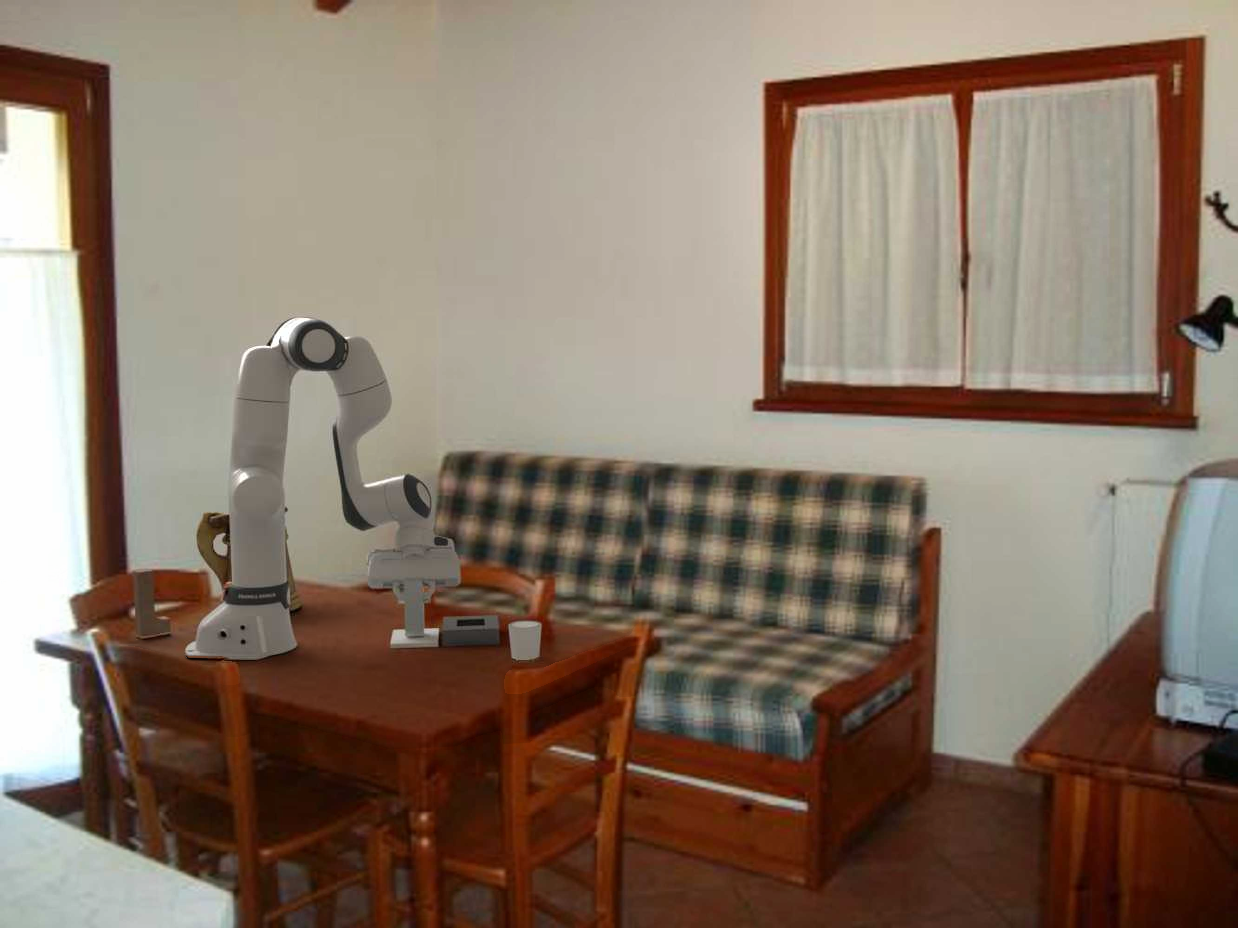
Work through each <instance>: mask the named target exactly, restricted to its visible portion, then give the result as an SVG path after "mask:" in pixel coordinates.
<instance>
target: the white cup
mask: <svg viewBox="0 0 1238 928" xmlns="http://www.w3.org/2000/svg"><path fill="white" fill-rule="evenodd" d="M507 627H508V634H509V643H510V652H511V659H512V658H513V659H516V660H515V661H517V660H530V659H535V658H537V657H539V658H540V650H541V649H540V648H541V636H542V623H541V622H540V621H535V620H520V621H519V620H517V621H512V622H511V623H508V626H507Z"/></svg>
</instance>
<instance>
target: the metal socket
mask: <svg viewBox="0 0 1238 928" xmlns="http://www.w3.org/2000/svg"><path fill="white" fill-rule="evenodd" d="M442 618H443V619H442V647H462V646H463V647H464V646H489V645H491V646H492V645H493V646H494V645H500V644H501V643H500V624H499V616H498V614H494V615H493V614H491V615H490V614H489V615H465V616H464V615H463V616H443V617H442Z"/></svg>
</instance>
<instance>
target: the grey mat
mask: <svg viewBox="0 0 1238 928" xmlns="http://www.w3.org/2000/svg"><path fill="white" fill-rule="evenodd" d="M424 629H425V631H424V636H405V628H404V629H393V630H392V633H391V634H392V635H391V640H390V643H389V644H390V649H407V648H410V649H411V648H413V649H414V648H438V647H439V637H440V628H439V627H438V628H434V627H433V628H424Z"/></svg>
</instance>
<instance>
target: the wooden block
mask: <svg viewBox="0 0 1238 928" xmlns="http://www.w3.org/2000/svg"><path fill="white" fill-rule="evenodd" d="M132 579H133V581H132V582H133V597H134V600H133V601H134V616H135V617H134V619H135V634H136V633H137V634H138V635H139V636H149V635H156V634H160V633H165V632H172V631H171V619H170V617H167V616H165V615H163V616H157V614H156V611H155V609H156V607H155V591H154V587H155V586H154V571H153V570H152V569H150V568H147V567H146V568H141V569H140V568H139V569H134V570H132Z"/></svg>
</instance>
